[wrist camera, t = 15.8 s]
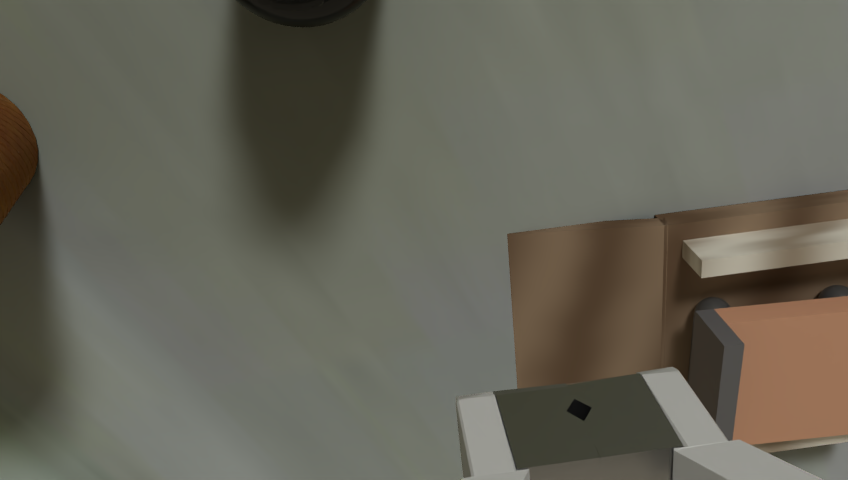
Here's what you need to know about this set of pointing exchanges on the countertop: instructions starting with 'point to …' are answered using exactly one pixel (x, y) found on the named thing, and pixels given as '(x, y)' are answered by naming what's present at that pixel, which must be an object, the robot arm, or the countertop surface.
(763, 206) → the loading dock
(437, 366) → the countertop surface
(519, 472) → the robot arm
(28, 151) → the disposable coffee cup
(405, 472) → the countertop surface
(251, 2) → the supplement bottle
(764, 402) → the trolley
